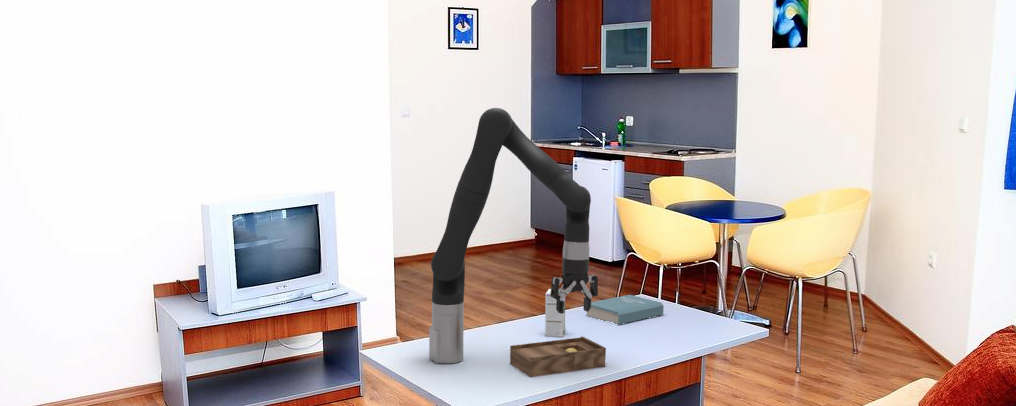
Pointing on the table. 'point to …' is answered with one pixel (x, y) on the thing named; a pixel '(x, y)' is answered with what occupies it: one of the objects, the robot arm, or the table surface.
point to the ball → (571, 350)
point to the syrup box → (553, 317)
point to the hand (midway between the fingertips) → (573, 311)
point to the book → (624, 309)
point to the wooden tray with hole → (557, 356)
